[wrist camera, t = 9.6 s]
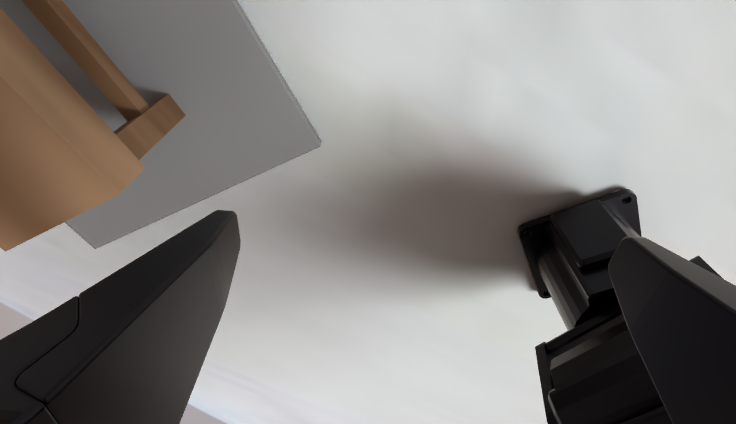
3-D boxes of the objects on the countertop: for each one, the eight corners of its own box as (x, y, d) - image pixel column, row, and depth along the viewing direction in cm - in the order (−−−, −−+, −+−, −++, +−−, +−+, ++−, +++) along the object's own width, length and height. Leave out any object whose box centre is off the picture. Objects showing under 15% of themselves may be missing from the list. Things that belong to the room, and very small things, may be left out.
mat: (321, 141, 21) (320, 146, 20) (100, 242, 25) (95, 248, 25) (18, -365, 12) (2, -378, 11) (-252, -74, 16) (-271, -74, 15)
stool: (11, -116, 15) (-224, -148, 9) (193, 118, 20) (118, 194, 14) (-87, -32, 16) (-341, -13, 10) (104, 165, 21) (5, 251, 15)
